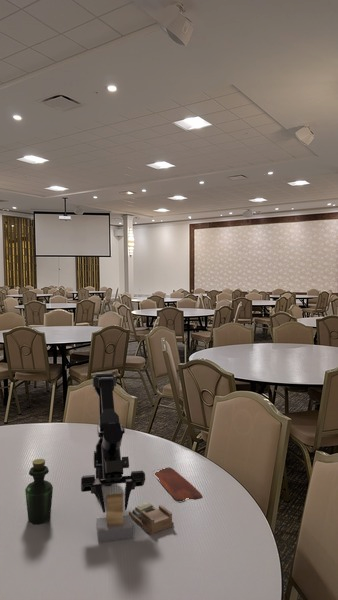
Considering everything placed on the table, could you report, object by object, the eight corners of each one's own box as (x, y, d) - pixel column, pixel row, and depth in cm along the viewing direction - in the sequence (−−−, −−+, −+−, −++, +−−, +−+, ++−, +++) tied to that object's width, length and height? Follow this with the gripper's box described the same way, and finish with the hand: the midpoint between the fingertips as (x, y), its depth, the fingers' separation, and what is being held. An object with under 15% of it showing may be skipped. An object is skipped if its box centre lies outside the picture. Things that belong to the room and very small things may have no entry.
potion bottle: (54, 511, 142) (53, 455, 141) (51, 525, 134) (51, 466, 133) (27, 513, 141) (26, 456, 140) (23, 527, 133) (22, 467, 132)
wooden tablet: (204, 499, 152) (204, 494, 152) (177, 504, 148) (177, 500, 148) (173, 468, 176) (173, 463, 176) (149, 472, 172) (149, 467, 172)
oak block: (106, 521, 131) (106, 494, 131) (122, 519, 132) (122, 493, 132) (106, 526, 128) (106, 498, 128) (123, 524, 129) (123, 496, 129)
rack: (128, 514, 140) (128, 502, 140) (151, 507, 145) (151, 495, 145) (150, 534, 130) (150, 520, 130) (173, 525, 134) (173, 512, 134)
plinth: (96, 528, 133) (96, 518, 133) (130, 524, 135) (130, 514, 135) (97, 542, 126) (97, 531, 126) (133, 537, 128) (133, 527, 128)
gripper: (81, 449, 131) (82, 505, 121) (144, 444, 135) (151, 497, 125) (80, 464, 139) (81, 518, 129) (140, 459, 143) (146, 511, 133)
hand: (115, 511), depth 129 cm, fingers open, 6 cm apart
